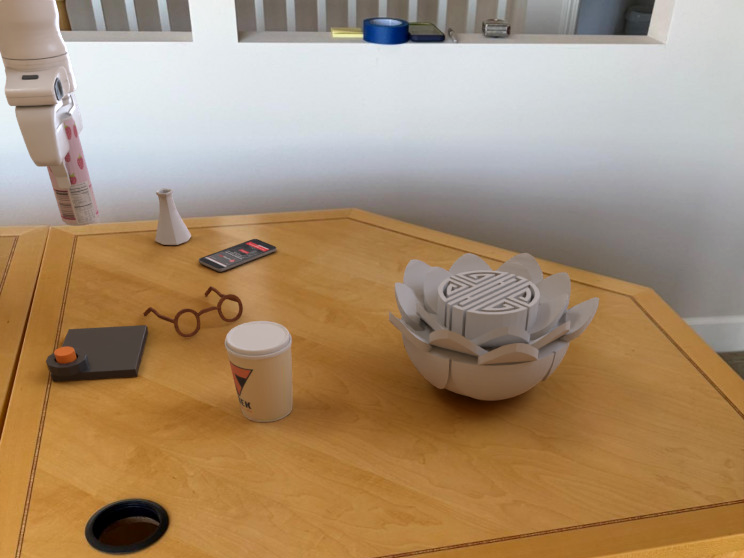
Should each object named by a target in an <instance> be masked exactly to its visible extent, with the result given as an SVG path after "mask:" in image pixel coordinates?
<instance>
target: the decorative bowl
mask: <svg viewBox="0 0 744 558" xmlns="http://www.w3.org/2000/svg"><path fill="white" fill-rule="evenodd" d="M402 278H403V279H402V282H400V281H399V282H395V283H394V297H395V302H396V306H397V309H398V311H399V313H400V316H401V318H398V317H396V316H395V314H393V313H392V312H391V311H390V310H388V321H389V323H390V324H391V325H393V326H394V328H396V330H398V331H399V332H400V333H401V338H402V342H403V347H404V349H405V352H406V353H407V356H408V358H409V360H410V361H411V363H412V365H413V366H414V368H415V369H416V371H418V373H419V374H420V375H421V376H422V377H423V378H424V380H426V381H427V382H428V383H430V384H431V386H434V387H435V388H437V389H439V390H443V389H445V390H447V391H449V392H452V393H455V394H458V395H460V396H465V397H470V398H472V399H476V400H480V401H488V402H489V401H490V402H491V401H493V402H494V401H501V400H507V399H512V398H515V397H517V396H520V395H522V394H525V393H527V392H528V391H530V390H531V389H534V387H536V386H537V385H538V384H539V383H540V382H545V381H546V380H548V378H550V377H551V375H553V373H555V371H556V370H557V369H558V367H559V366H560V365H561V363H562V361H563V360H564V357H565V356H566V354H567V352H568V349H569V347H570V343H571V341H574V340H575V339H577V338H578V337H580V336H581V335H582V334H583V333H584V332H585V331H586V330H587V329H588V327H589V325H590V324H591V323H592V321H593V319H594V318H595V316H596V314H597V311H598V308H599V304H600V298H599V297H596V296H594V297H592V298H589V299H587V300H584V301H582V302H580V303H578V304H575V305H574V306H572V307H570V308H569V304H570V299H571V294H572V293H571V292H572V282H571V277H570V275H569V273H568V272H566V271H561V272H556V273H554V274H551V275H548V276H547V277H545V278H544V273H543V270H542V268H541V266H540V264H539V262H538V260H537V259H536V258H535V257H534V256H533V255H532V254H531V253H528V252H522V253H518V254H515V255H514V256H512V257H510V258H509V259H507V260H506V261H505V262H503V263H502V264H501V265H500V266H499V267H498V268H497V269H495V270H493V269H492V267H491V266H490V265H489V264H488V263H487V262H486V261H485V260H484V259H483V258H481V257H480V256H479V255H477V254H474V253H471V252H467V253H464V254H463V255H461V256H459V257H458V258H457V259H456V260H455V261H454V262H453V263H452V264H451V266H450V267H449V269H448V270H447V269H445V268H443V267H440V266H431V265H429V264H428V263H426V262H425V261H422V260H420V259H414V258H413V259H410V260H409V261H408V263H407V264H406V266H405V270H404V273H403V277H402Z"/></svg>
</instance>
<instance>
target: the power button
mask: <svg viewBox="0 0 744 558" xmlns="http://www.w3.org/2000/svg"><path fill="white" fill-rule="evenodd" d="M53 353H54V354H55V357H56V360H57V362H58V363H60V364H65V363H70V362H73V361H75V360H76V359H77V357H76V354H75V350H74V348H72V347H68V346H66V347H62V346H61V347H58V348H56V349H55V350H54V352H53Z"/></svg>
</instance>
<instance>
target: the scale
mask: <svg viewBox="0 0 744 558" xmlns="http://www.w3.org/2000/svg"><path fill="white" fill-rule="evenodd" d="M148 335H149V329H148V325H147V324H141V325H121V326H100V327H81V328H68V330H67V332H66V336H65V338H64V340H63V342H62V345H61V347H66V346H68V347H72V348H74V350H75V354H76V357H77V359H76V360H75V361H73V362H70V363H65V364H60V363H58V362H57V360H56V357H55V354H54V352H52V353H51V354H49V355H48V356H47V358H46V360H45V363H46V366H47V369H48V371H49V372H50V377H51V381H52V382H53V383H54V382H56V383H57V382H71V381H85V380H86V381H88V380H105V379H123V378H125V379H126V378H137V377H138V375H139V371H140V367H141V363H142V359H143V355H144V351H145V347H146V343H147V338H148Z"/></svg>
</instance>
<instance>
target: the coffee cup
mask: <svg viewBox="0 0 744 558" xmlns="http://www.w3.org/2000/svg"><path fill="white" fill-rule="evenodd" d="M292 345H293V338H292V335H291V332H289V330H288V329H287V327H285V326H284V325H282V324H280V323H277V322H274V321H268V320H255V321H249V322H244V323H240V324H238V325H236V326H234V327H232V328H231V329H230V330H229V331H228V332H227V333H226V336H225V339H224V348H225V350H226V353H227V356H228V357H227V358H228V362H229V366H230V371H231V375H232V377H233V378H232V379H233V382H234V387H235V390H236V396H237V399H238V403H239V407H240V410H241V413H242V415H243V416H244V418H246V419H248V420H250V421H252V422H256V423H272V422H276V421H279V420H282V419H284V418H286V417H287V416H288V415H290V414H291V412H292V410H293V408H294V394H293V393H294V391H293V357H292Z"/></svg>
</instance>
